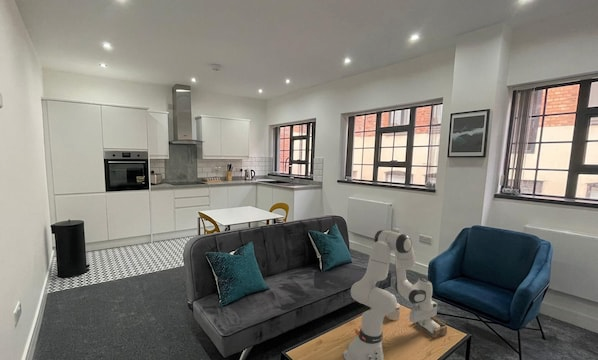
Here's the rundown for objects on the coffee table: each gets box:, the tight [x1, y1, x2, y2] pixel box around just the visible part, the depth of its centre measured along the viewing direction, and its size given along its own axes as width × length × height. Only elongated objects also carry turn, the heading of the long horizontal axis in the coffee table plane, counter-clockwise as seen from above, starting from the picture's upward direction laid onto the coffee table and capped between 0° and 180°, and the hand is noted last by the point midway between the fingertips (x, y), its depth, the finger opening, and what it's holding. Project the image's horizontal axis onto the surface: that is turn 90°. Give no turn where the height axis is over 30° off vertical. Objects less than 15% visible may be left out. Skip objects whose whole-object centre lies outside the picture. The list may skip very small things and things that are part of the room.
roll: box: [418, 318, 440, 335], centre depth 181 cm, size 12×7×7 cm, turn 20°
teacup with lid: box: [385, 302, 401, 321], centre depth 195 cm, size 12×9×12 cm
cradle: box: [413, 316, 448, 339], centre depth 181 cm, size 10×16×6 cm, turn 25°
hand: (422, 325), depth 178 cm, fingers closed
